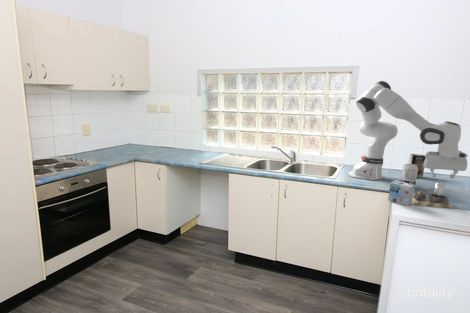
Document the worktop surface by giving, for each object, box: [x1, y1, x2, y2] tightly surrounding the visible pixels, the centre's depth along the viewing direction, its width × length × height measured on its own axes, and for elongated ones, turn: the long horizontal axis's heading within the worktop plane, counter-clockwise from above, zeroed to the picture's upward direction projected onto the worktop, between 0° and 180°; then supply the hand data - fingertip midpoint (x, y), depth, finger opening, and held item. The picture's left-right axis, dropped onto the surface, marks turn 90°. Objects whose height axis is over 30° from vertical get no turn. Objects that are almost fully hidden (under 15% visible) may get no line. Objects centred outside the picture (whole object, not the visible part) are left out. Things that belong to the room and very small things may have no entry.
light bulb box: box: [387, 179, 416, 207], centre depth 176 cm, size 11×7×11 cm, turn 45°
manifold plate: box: [412, 190, 453, 209], centre depth 176 cm, size 18×12×6 cm, turn 80°
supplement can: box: [400, 163, 418, 189], centre depth 201 cm, size 8×8×15 cm
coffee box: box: [407, 153, 426, 179], centre depth 228 cm, size 9×6×16 cm
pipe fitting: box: [433, 182, 446, 198], centre depth 175 cm, size 4×4×10 cm
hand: (442, 177), depth 173 cm, fingers open, 8 cm apart
